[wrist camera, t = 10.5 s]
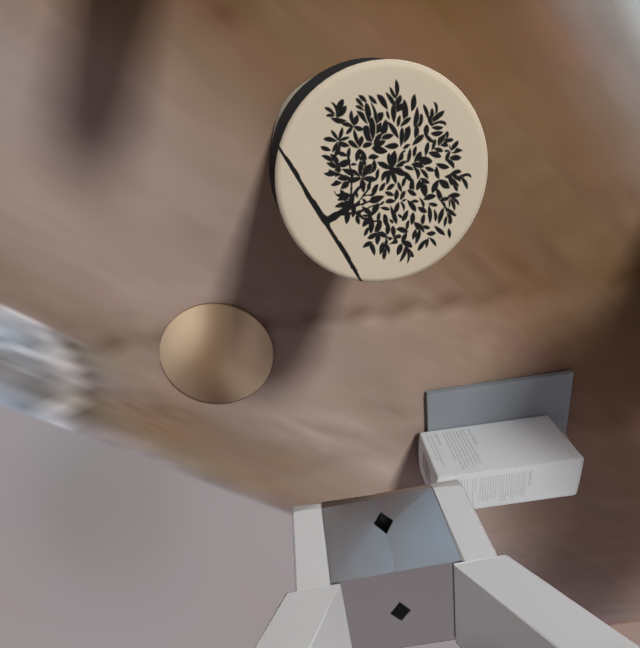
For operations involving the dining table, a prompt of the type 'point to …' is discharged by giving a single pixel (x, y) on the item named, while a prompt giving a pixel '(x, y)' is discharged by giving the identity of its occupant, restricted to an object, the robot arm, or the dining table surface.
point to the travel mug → (377, 168)
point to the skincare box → (503, 461)
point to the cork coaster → (216, 353)
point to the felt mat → (501, 401)
